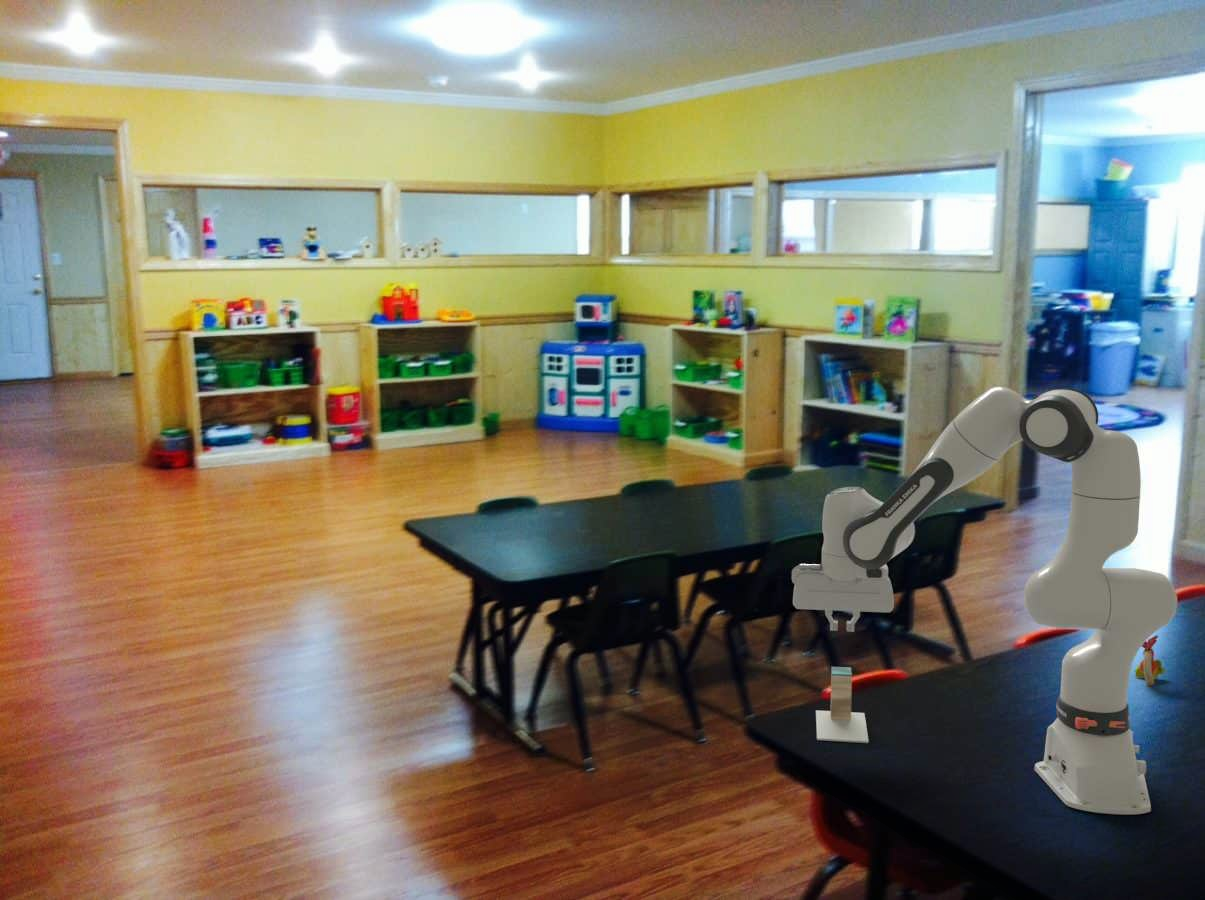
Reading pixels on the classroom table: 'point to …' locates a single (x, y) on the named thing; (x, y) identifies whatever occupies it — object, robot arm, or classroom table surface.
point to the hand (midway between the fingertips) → (842, 630)
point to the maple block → (841, 693)
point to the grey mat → (841, 728)
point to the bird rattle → (1149, 663)
